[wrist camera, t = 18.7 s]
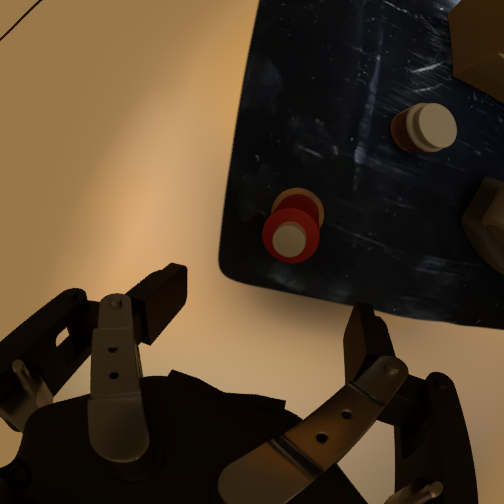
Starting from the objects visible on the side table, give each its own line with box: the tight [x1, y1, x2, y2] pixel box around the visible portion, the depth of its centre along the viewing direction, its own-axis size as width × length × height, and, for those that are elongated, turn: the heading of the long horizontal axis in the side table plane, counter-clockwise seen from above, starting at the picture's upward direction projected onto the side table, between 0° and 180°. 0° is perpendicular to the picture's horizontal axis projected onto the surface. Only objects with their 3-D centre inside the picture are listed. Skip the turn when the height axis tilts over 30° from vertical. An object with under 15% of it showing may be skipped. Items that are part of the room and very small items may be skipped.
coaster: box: [272, 188, 324, 229], centre depth 30 cm, size 6×6×1 cm
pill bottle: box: [391, 103, 457, 152], centre depth 20 cm, size 5×5×8 cm
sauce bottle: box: [262, 194, 319, 263], centre depth 26 cm, size 5×5×10 cm
